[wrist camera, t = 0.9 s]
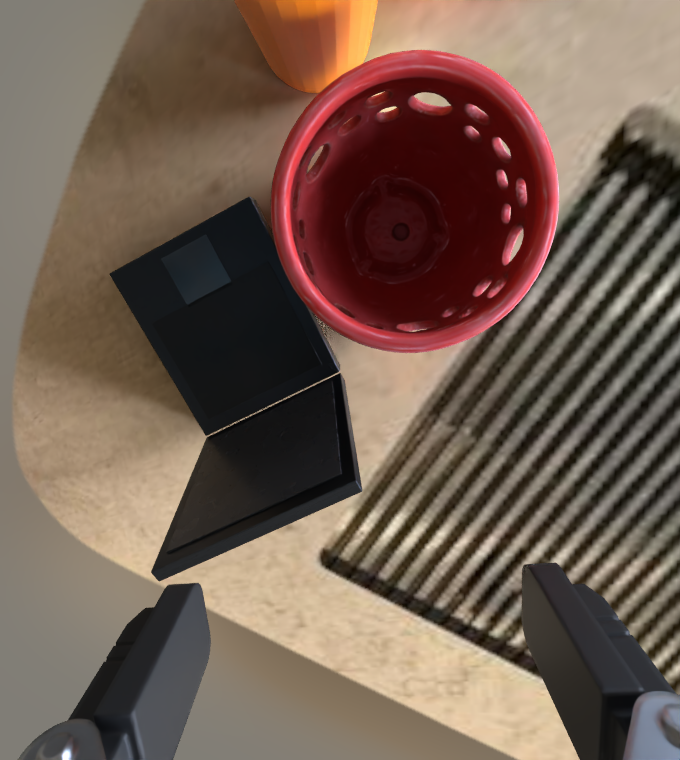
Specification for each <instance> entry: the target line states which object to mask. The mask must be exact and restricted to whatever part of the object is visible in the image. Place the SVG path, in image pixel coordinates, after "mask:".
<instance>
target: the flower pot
mask: <svg viewBox="0 0 680 760" xmlns="http://www.w3.org/2000/svg"><path fill="white" fill-rule="evenodd" d="M384 91H385V92H384ZM381 92H384V93H382V94H379V95H376V96H373V95H375V94H378V93H381ZM421 92H429V93H435V94H438V95H440V96H442V97H443V98H445V99H446V100H447V101H448V102H449V104H451V106H445V107H440V106H434V105H430V104H426V103H424V102H421V101H419V100H418V99H417V98H415V97H414V95H415V94H417V93H421ZM371 96H373V97H371ZM393 106H396V107H397V108H396V109H394V110H392V111H389V112H385V113H384V112H382V113H379V112H380V111H381V110H382V109H384V108H389V107H393ZM476 106H477V107H478V108H479V109H481V110H482V111H484V112H485V113H486V114H485V113H483V112H481V111H480V110H479V109H478V108H477V107H476ZM351 118H352V119H351ZM348 120H349V121H348ZM347 121H348V122H347ZM345 122H346V123H345ZM344 123H345V124H344ZM471 126H472V127H473V128H475V129H476V130H477V131H478V132H476V131H475V130H474V129H473V128H472V127H471ZM500 138H501V139H502V140H503V141H504V142H505V143H506V145H507V146H508V148H509V149H510V152H511V156H510V155H509V154H508V153H507V151H506V150H505V148H504V146H503V144H502V142H501V139H500ZM323 145H324V147H323V150H322V152H321V154H320V156H319V157H318V159H317V161H316V163H315V164H314V166H313V167H312V168H311V170H310V171H309V172H308V173H307V169H308V166H309V163H310V161H311V158H312V157H313V156H314V154H315V152H316V151H317V150H318V149H319V147H320V146H323ZM504 172H505V173H506V176H507V179H508V183H507V181H506V179H505V176H504ZM526 194H527V195H526ZM510 208H511V216H510ZM558 209H559V185H558V177H557V170H556V165H555V161H554V157H553V153H552V150H551V147H550V144H549V141H548V139H547V136H546V134H545V132H544V130H543V127H542V125H541V124H540V122H539V120H538V118H537V116H536V115H535V113H534V111H533V110H532V109H531V107H530V106H529V104H528V103H527V102H526V101H525V99H524V98H523V97H522V96H521V95H520V93H519V92H518V91H517V90H516V89H515V88H514V87H513V86H512V85H511V84H510V83H509V82H508V81H506V80H505V79H504V78H503V77H502V76H500V75H499V74H497V73H496V72H494V71H492V70H491V69H489V68H487V67H486V66H484V65H482V64H480V63H478V62H476V61H473V60H471V59H468V58H465V57H462V56H459V55H455V54H451V53H446V52H441V51H431V50H412V51H402V52H396V53H390V54H387V55H384V56H381V57H377V58H374V59H372V60H370V61H368V62H365V63H363V64H361V65H359V66H357V67H355V68H353V69H351V70H349V71H348V72H346V73H344V74H342V75H341V76H340V77H338V78H337V79H335V80H334V81H333V82H331V83H330V84H329V85H328V86H327V87H326V88H324V89H323V90H322V91H321V92H320V93H319V94H318V95H317V96H316V97H315V98H314V99H313V100H312V102H311V103H310V104H309V105H308V106H307V107H306V109H305V110H304V112H303V113H302V114H301V115H300V117H299V118H298V120H297V121H296V123H295V125H294V126H293V128H292V129H291V131H290V133H289V135H288V137H287V139H286V141H285V144H284V146H283V148H282V151H281V153H280V156H279V159H278V162H277V165H276V169H275V173H274V178H273V183H272V191H271V222H272V230H273V236H274V241H275V245H276V250H277V253H278V256H279V259H280V262H281V264H282V266H283V269H284V271H285V273H286V275H287V277H288V279H289V281H290V283H291V285H292V287H293V288H294V290H295V291H296V293H297V294H298V296H299V297H300V298H301V300H302V301H303V302H304V303H305V304H306V306H307V307H308V308H309V309H310V310H311V311H312V312H313V313H314V314H315V315H316V316H317V317H318V318H319V319H320V320H321V321H322V322H324V323H325V324H326V325H327V326H329V327H330V328H332V329H333V330H334V331H336V332H338V333H339V334H341V335H343V336H344V337H346V338H348V339H350V340H353V341H355V342H357V343H359V344H362V345H365V346H368V347H371V348H376V349H380V350H384V351H390V352H399V353H418V352H428V351H433V350H439V349H442V348H446V347H449V346H452V345H455V344H458V343H460V342H463V341H465V340H468V339H470V338H472V337H474V336H476V335H478V334H479V333H481V332H483V331H484V330H486V329H488V328H489V327H491V326H492V325H494V324H495V323H496V322H498V321H499V320H501V319H502V318H503V317H504V316H505V315H506V314H508V313H509V312H510V311H511V310H512V309H513V308H514V307H515V306H516V305H517V304H518V303H519V301H520V300H521V299H522V298H523V297H524V296H525V294H526V293H527V292H528V290H529V289H530V287H531V286H532V284H533V283H534V281H535V280H536V278H537V276H538V275H539V273H540V271H541V269H542V267H543V265H544V263H545V260H546V258H547V256H548V253H549V250H550V248H551V245H552V242H553V238H554V234H555V229H556V225H557V218H558ZM522 229H523V230H524V237H523V241H522V244H521V247H520V249H519V251H518V252H517V254H516V255H515V257H514V258H513V259H512V261H511V262H509V261H510V256H511V253H512V250H513V247H514V244H515V242H516V240H517V237H518V235H519V234H520V232H521V231H522ZM490 283H491V284H490ZM489 284H490V285H489ZM488 285H489V287H488V288H487V289H486V290H485V291H484V292H483V290H484V289H485V288H486V287H487V286H488ZM482 292H483V293H482ZM420 329H426V330H420ZM413 330H420V331H416V332H409V331H413Z"/></svg>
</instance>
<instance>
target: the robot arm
mask: <svg viewBox="0 0 680 760" xmlns="http://www.w3.org/2000/svg"><path fill="white" fill-rule="evenodd" d="M522 626H523V631H524V636H525V639H526V643H527V645H528V648H529V650H530V652H531V654H532V657H533V659H534V661H535V663H536V665H537V667H538V670H539V672H540V674H541V676H542V678H543V681H544V683H545V685H546V687H547V689H548V691H549V694H550V696H551V698H552V700H553V702H554V704H555V707H556V709H557V711H558V713H559V715H560V717H561V720H562V722H563V724H564V726H565V728H566V730H567V733H568V735H569V737H570V739H571V741H572V743H573V746H574V748H575V750H576V752H577V754H578V757H579V759H580V760H680V695H678V694H676V693H675V691H674V690H673V689H672V688H671V686H670V685H669V684H668V682H667V681H666V680H665V678H664V677H663V676H662V674H661V673H660V672H659V670H658V669H657V668H656V666H655V665H654V664H653V662H652V661H651V660H650V658H649V657H648V656H647V654H646V653H645V652H644V650H643V649H642V648H641V646H640V645H639V644H638V642H637V641H636V640H635V638H634V637H633V636H632V635H630V633H629V630H628V629H627V628H626V627H625V625H624V624H623V623H622V621H621V620H619V619H618V616H617V615H616V613H615V612H614V611H613V609H612V608H611V607H610V605H609V604H608V603H607V601H606V600H605V599H604V598H603V597H602V596H600V595H599V594H597V593H596V592H595V591H593V590H592V589H590V588H589V587H588V586H586V585H585V584H572V583H571V582H570V581H569V579H568V578H567V576H566V575H565V573H564V572H563V570H562V569H561V567H560V566H559V565H558V564H557V563H543V564H526V565H524V566H523V569H522ZM210 643H211V640H210V630H209V625H208V620H207V614H206V608H205V602H204V597H203V591H202V588H201V585H200V584H199V583H190V584H173V585H168V586H167V587H166V588H165V590H164V591H163V593H162V595H161V597H160V598H159V600H158V602H157V604H156V606H155V607H154V608H145V609H144V610H142V611H141V612H140V613H139V614H138V615H137V616H136V617H135V618H134V619H133V620H131V621H130V622H129V623H128V624H127V626H126V627H125V629H124V630H123V632H122V634H121V635H120V637H119V638H118V640H117V642H116V646H114V647H113V648H112V650H111V652H110V653H109V655H108V656H107V660H106V662H104V663H103V664H102V666H101V668H100V669H99V671H98V672H97V674H96V676H95V677H94V679H93V680H92V682H91V684H90V686H89V687H88V689H87V690H86V692H85V693H84V695H83V697H82V698H81V700H80V702H79V703H78V705H77V706H76V708H75V710H74V711H73V713H72V714H71V716H70V718H69V719H68V721H65V722H62V723H60V724H57V725H55V726H53V727H52V728H50V729H48V730H47V731H45V732H44V733H42V734H41V735H40V736H38V737H37V738H36V739H35V740H34V741H33V742H32V743H31V744H30V745H29V746H28V747H27V748H26V749H25V750H24V752H23V753H22V754H21V755H20V757H19V759H18V760H173V758H174V755H175V752H176V749H177V747H178V744H179V741H180V738H181V735H182V733H183V730H184V727H185V724H186V722H187V719H188V715H189V713H190V710H191V708H192V704H193V702H194V699H195V696H196V693H197V691H198V688H199V685H200V682H201V680H202V677H203V674H204V671H205V669H206V666H207V663H208V659H209V654H210Z"/></svg>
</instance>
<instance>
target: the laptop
mask: <svg viewBox="0 0 680 760" xmlns="http://www.w3.org/2000/svg"><path fill="white" fill-rule="evenodd" d="M110 276H111V278H112V279H113V281H114V283H115V284H116V286H117V288H118V289H119V291H120V293H121V294H122V296H123V298H124V299H125V301H126V303H127V304H128V306H129V308H130V309H131V311H132V313H133V314H134V316H135V318H136V320H137V321H138V323H139V325H140V326H141V328H142V330H143V331H144V333H145V335H146V336H147V338H148V340H149V341H150V343H151V345H152V346H153V348H154V350H155V351H156V353H157V355H158V356H159V358H160V360H161V361H162V363H163V365H164V366H165V368H166V370H167V371H168V373H169V375H170V376H171V378H172V380H173V381H174V383H175V385H176V386H177V388H178V390H179V391H180V393H181V395H182V396H183V398H184V400H185V402H186V403H187V405H188V407H189V408H190V410H191V412H192V413H193V415H194V417H195V418H196V420H197V422H198V423H199V425H200V427H201V428H202V430H203V432H204V433H205V435H206V436H207V435H209V434H211V433H213V432H215V431H217V430H219V429H222V428H224V427H226V426H228V425H230V424H232V423H234V422H236V421H238V420H240V419H242V418H244V417H246V416H248V415H251V414H253V413H255V412H257V411H259V410H261V409H263V408H265V407H267V406H269V405H271V404H273V403H275V402H277V401H279V400H282V399H284V398H286V397H288V396H290V395H292V394H294V393H296V392H298V391H300V390H302V389H304V388H306V387H308V386H310V385H313V384H315V383H317V382H319V381H321V380H323V379H325V378H327V377H329V376H331V375H333V374H335V373H337V372H339V371H340V364H339V362H338V361H337V359H336V357H335V355H334V353H333V351H332V349H331V347H330V345H329V343H328V341H327V339H326V337H325V335H324V333H323V331H322V329H321V327H320V325H319V323H318V321H317V319H316V317H315V315H314V314H313V312H312V311H311V310H310V309H309V308H308V307H307V306H306V304H305V303H304V302H303V301H302V300H301V298H300V297H299V296H298V294H297V293H296V291H295V290H294V288H293V287H292V285H291V283H290V281H289V279H288V277H287V275H286V273H285V271H284V269H283V266H282V264H281V262H280V259H279V256H278V253H277V250H276V245H275V241H274V236H273V233H272V231H271V229H270V227H269V225H268V223H267V222H266V220H265V218H264V216H263V214H262V212H261V210H260V208H259V206H258V204H257V202H256V200H255V199H253V198H251V197H247V198H246V199H244V200H242V201H240V202H238V203H237V204H235V205H233V206H231V207H229V208H227V209H226V210H224V211H222V212H220V213H218V214H217V215H215V216H213V217H211V218H209V219H208V220H206V221H204V222H202V223H200V224H199V225H197V226H195V227H193V228H191V229H189V230H188V231H186V232H184V233H182V234H180V235H179V236H177V237H175V238H173V239H171V240H170V241H168V242H166V243H164V244H162V245H161V246H159V247H157V248H155V249H153V250H151V251H150V252H148V253H146V254H144V255H142V256H141V257H139V258H137V259H135V260H133V261H132V262H130V263H128V264H126V265H124V266H122V267H121V268H119V269H117V270H115V271H113V272H112V273H110Z"/></svg>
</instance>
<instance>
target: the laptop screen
mask: <svg viewBox="0 0 680 760" xmlns="http://www.w3.org/2000/svg"><path fill="white" fill-rule="evenodd" d="M360 492H362V486H361V480H360V474H359V467H358V461H357V455H356V449H355V442H354V436H353V430H352V424H351V417H350V411H349V405H348V399H347V392H346V386H345V380H344V378H343V377H342V375H341V373H339V374H337V375H335V376H333V377H331V378H329V379H327V380H325V381H323V382H321V383H319V384H317V385H315V386H313V387H311V388H308V389H306V390H304V391H302V392H300V393H298V394H296V395H294V396H292V397H290V398H288V399H286V400H284V401H282V402H279V403H277V404H275V405H273V406H271V407H269V408H267V409H265V410H263V411H261V412H259V413H257V414H255V415H253V416H250V417H248V418H246V419H244V420H242V421H240V422H238V423H236V424H234V425H232V426H230V427H228V428H226V429H224V430H221V431H219V432H217V433H215V434H213V435H211V436H209V437H207V438H206V441H205V443H204V446H203V448H202V450H201V453H200V455H199V458H198V460H197V462H196V465H195V467H194V470H193V472H192V475H191V477H190V479H189V482H188V484H187V487H186V489H185V491H184V494H183V496H182V499H181V501H180V504H179V506H178V508H177V511H176V513H175V516H174V518H173V520H172V523H171V525H170V528H169V530H168V532H167V535H166V537H165V540H164V542H163V545H162V547H161V549H160V552H159V554H158V557H157V559H156V561H155V564H154V566H153V569H152V571H151V573H152V574H153V575H154V576H155V577H156V579H157V580H158V581H161V580H164V579H166V578H168V577H170V576H173V575H175V574H177V573H179V572H182V571H184V570H186V569H188V568H191V567H193V566H195V565H197V564H200V563H202V562H204V561H206V560H209V559H211V558H213V557H215V556H218V555H220V554H222V553H225V552H227V551H229V550H231V549H234V548H236V547H238V546H240V545H243V544H245V543H247V542H249V541H252V540H254V539H256V538H258V537H261V536H263V535H265V534H267V533H270V532H272V531H274V530H276V529H279V528H281V527H283V526H285V525H288V524H290V523H292V522H294V521H297V520H299V519H301V518H303V517H306V516H308V515H310V514H312V513H315V512H317V511H319V510H321V509H324V508H326V507H328V506H330V505H333V504H335V503H337V502H339V501H342V500H344V499H346V498H348V497H351V496H353V495H355V494H357V493H360Z"/></svg>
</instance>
